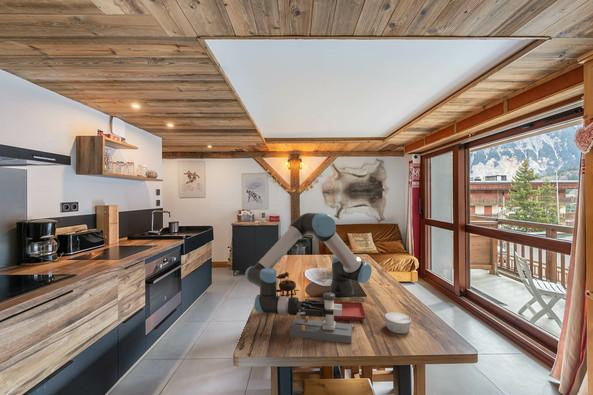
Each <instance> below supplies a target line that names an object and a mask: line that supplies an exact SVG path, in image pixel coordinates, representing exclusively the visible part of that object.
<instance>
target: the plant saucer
mask: <svg viewBox="0 0 593 395" xmlns="http://www.w3.org/2000/svg"><path fill="white" fill-rule="evenodd" d="M334 304H342V316H335V315H334V321H335V320H337V321H351V322H353V321H355V322H362V321H364V319H366V317H367V315H366V311H365V308H364V305H363V302H359V301H357V302H356V301H355V302H354V301H337V300H334Z"/></svg>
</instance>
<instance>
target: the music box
mask: <svg viewBox="0 0 593 395" xmlns="http://www.w3.org/2000/svg"><path fill="white" fill-rule="evenodd" d="M289 275H290V273H289V272H288V271H286V272H285V273H280V274H278V275H276V276H277V286H276V295H277V296H287V297H289V298H290V297H294V296H296V295H297V293H296V292H298V291H300V289H296V287H297V284H296V282H295V281H294V280H290V279H289V278H290V277H289ZM286 278H288V279H286ZM284 279H286V280H284ZM278 280H280V282H278ZM278 287H279V288H278ZM278 293H280V295H279V294H278Z"/></svg>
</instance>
